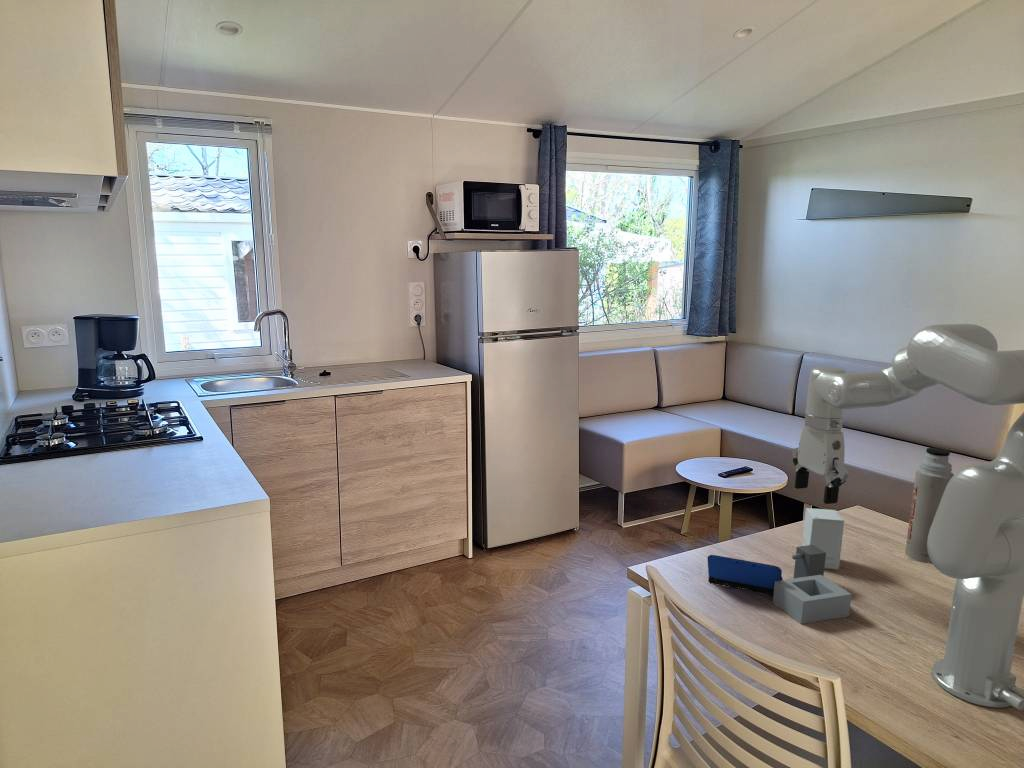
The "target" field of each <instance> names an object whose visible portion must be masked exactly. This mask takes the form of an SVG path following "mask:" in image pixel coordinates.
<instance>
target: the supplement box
mask: <svg viewBox="0 0 1024 768" xmlns="http://www.w3.org/2000/svg"><path fill="white" fill-rule="evenodd" d="M804 514H805V515H804V525H803V535H802V542H801V543H802V544H801V546H807V545H814V546H815V547H817V548H819V549H820V550H822V551H824V552H826V558H825V567H824V569H828V570H829V569H830V570H831V569H832V570H839V569H840V565H841V564H840V562H841V561H840V560H841V554H842V543H843V534H844V526H845V519H843V517H842V516H841V514H839V512H838V511H837V510H836V509H826V508H825V509H823V508H810V507H809V508H808V507H806V508H805V513H804Z"/></svg>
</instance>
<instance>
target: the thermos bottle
mask: <svg viewBox="0 0 1024 768" xmlns="http://www.w3.org/2000/svg"><path fill="white" fill-rule="evenodd" d="M950 454H951V452H950V450H947V449H943V448H938V447H927V448H926V453H925V457H924V459H920V463H919V467H917V468H916V469H915V475H914V482H913V483H914V484H913V490H912V491H913V492H912V498H911V506H910V514H909V521H908V528H907V534H906V535H907V536H906V545H905V550H904V553H905V555H906V556H908V558H911V559H913V560H915V561H918V562H922V563H926V562H928V563H929V564H930V563H931V564H933V563H932V562H931V560H930V557H929V555H928V550H927V540H928V534H929V531H930V528H931V525H932V522H933V520H934V517H935V514H936V512H937V509H938V507H939V504H940V501H941V499H942V496H943V493H944V491H945V489H946V486H947V484H948V482H949V481H950V479H951V478H952V477H953V476H954V475H955V473H953V472H952V471H953V469H952V468H953V466H952V464H951V462H949V457H950ZM928 563H927V564H928Z"/></svg>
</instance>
